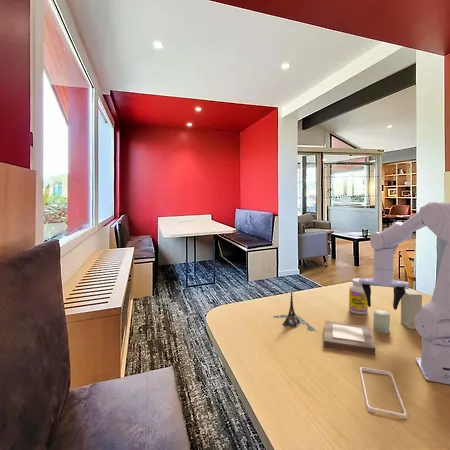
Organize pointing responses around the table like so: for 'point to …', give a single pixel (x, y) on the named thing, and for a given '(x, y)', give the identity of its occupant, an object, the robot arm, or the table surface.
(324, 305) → the table surface
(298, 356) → the table surface
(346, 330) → the walnut base
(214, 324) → the table surface
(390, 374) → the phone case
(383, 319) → the sage cylinder
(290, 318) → the eiffel tower figurine
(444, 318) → the robot arm
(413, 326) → the skincare box
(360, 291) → the supplement bottle
